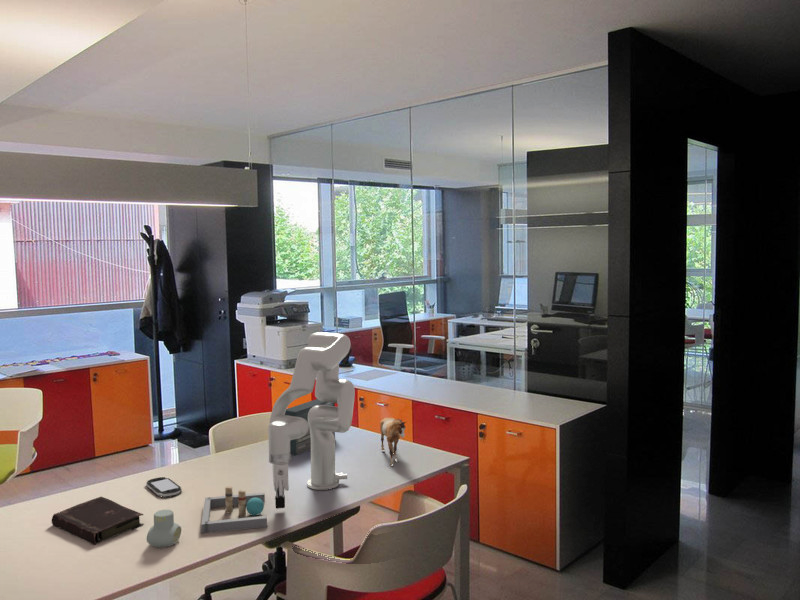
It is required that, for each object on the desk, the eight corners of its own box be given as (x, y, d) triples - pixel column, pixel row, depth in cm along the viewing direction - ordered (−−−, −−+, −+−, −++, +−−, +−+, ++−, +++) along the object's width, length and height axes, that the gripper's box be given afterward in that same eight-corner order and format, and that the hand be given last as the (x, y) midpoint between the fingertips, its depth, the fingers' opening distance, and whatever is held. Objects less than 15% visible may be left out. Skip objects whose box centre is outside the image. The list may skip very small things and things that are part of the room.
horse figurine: (406, 469, 271) (406, 421, 270) (388, 470, 270) (388, 422, 268) (393, 446, 302) (393, 403, 300) (377, 447, 300) (377, 404, 299)
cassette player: (296, 455, 289) (295, 412, 287) (284, 453, 292) (283, 409, 290) (335, 439, 313) (334, 398, 312) (323, 436, 317) (323, 396, 315)
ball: (242, 501, 227) (250, 515, 228) (244, 507, 221) (252, 521, 222) (257, 491, 228) (265, 505, 230) (259, 497, 223) (268, 511, 224)
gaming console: (143, 486, 253) (143, 479, 253) (166, 480, 259) (166, 474, 259) (161, 501, 239) (161, 494, 238) (185, 494, 244) (184, 488, 244)
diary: (93, 548, 202) (92, 533, 202) (51, 528, 216) (50, 514, 216) (146, 526, 218) (145, 511, 217) (104, 508, 232) (103, 495, 231)
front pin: (246, 513, 227) (245, 489, 226) (246, 516, 224) (245, 492, 223) (238, 514, 226) (238, 490, 225) (238, 516, 224) (238, 492, 223)
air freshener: (158, 535, 209) (157, 505, 209) (183, 535, 209) (182, 506, 208) (144, 551, 199) (143, 520, 198) (170, 552, 198) (169, 520, 197)
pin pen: (264, 500, 238) (264, 492, 238) (267, 526, 216) (267, 518, 216) (205, 505, 233) (205, 497, 233) (201, 533, 211) (201, 524, 211)
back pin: (232, 509, 230) (232, 486, 229) (232, 512, 228) (232, 488, 227) (225, 510, 229) (225, 486, 229) (225, 513, 227) (225, 489, 226)
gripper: (292, 462, 220) (292, 515, 222) (288, 449, 235) (289, 498, 236) (269, 464, 218) (270, 517, 220) (267, 451, 233) (268, 500, 234)
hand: (280, 507), depth 228 cm, fingers closed
